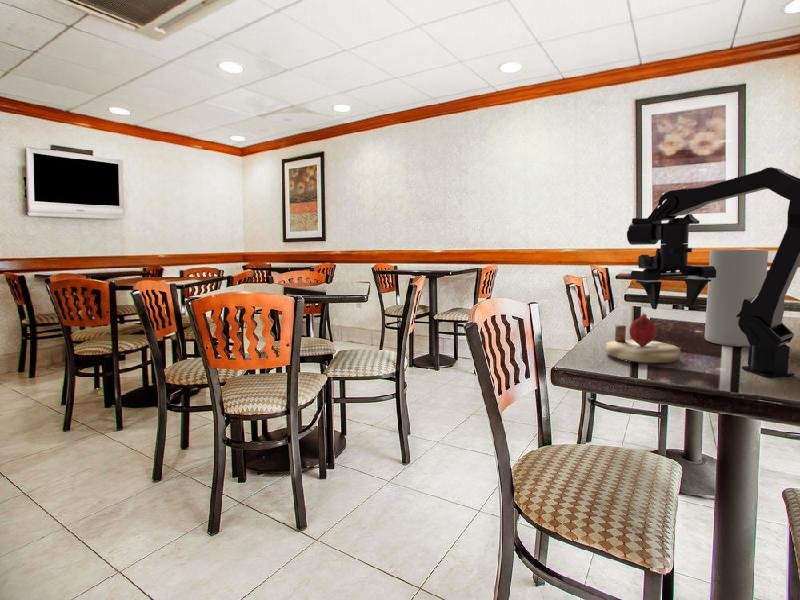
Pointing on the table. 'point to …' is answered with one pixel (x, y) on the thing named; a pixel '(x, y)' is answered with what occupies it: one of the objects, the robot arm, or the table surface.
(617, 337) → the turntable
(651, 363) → the susan base
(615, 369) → the table surface
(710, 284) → the cylinder vase
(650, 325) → the onion
